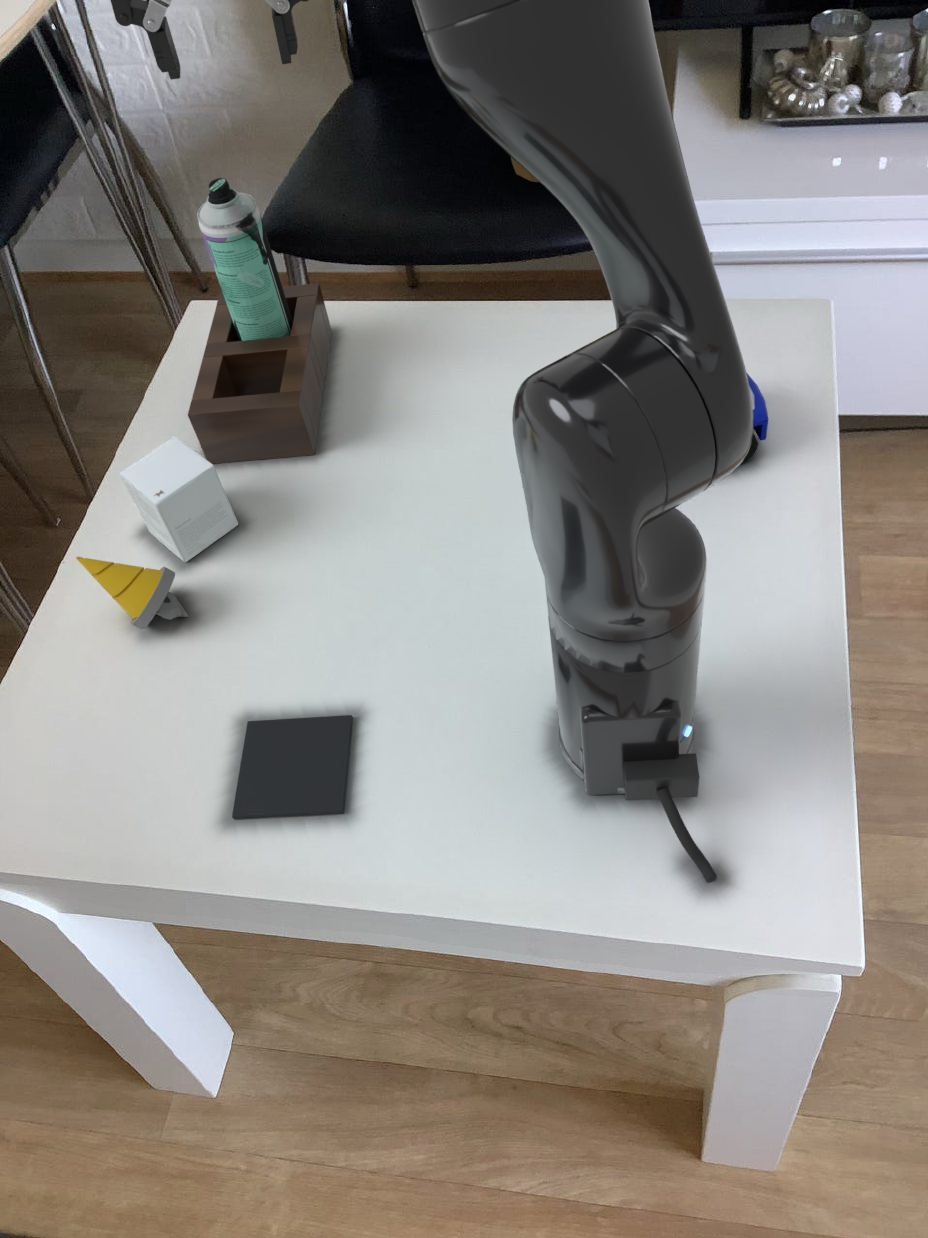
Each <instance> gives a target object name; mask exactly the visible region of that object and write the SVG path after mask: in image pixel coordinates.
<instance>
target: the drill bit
mask: <svg viewBox="0 0 928 1238" xmlns="http://www.w3.org/2000/svg"><path fill="white" fill-rule="evenodd" d="M75 559H76V560H77V561H78V562H79V563H80V565H81V566H83V568H84V569H85V570H86V571H87V573H89V574H90V575H91V576H92V577H93V579H94V580H95V581H96V582H97V583H98V584H99V585H100V586H101V587H102V588H103V590H105V591H106V592H107V593H108V594H109V595H110V596H111V598H112V599H113V600H114V601H115V602H116V603H117V604H118V605H119V607H121V608H122V609H123V611H125V613H126V614H127V615H128V616H129V617H130V618H131V621H130V623H131V624H130V625H132V626H133V627H136V628H138V629H140V630H145V629H146V627H148V626H149V624H150V623H151V621H152V620H153V619H154V617H155V616H156V615H157V616H159V617H161V618H163V619H165V620H173V619H176V618H177V617H178V618H179V617H181V618H190V615H189V614H188V612H187V611H186V610H185V608H184V607H183V606H182V604H181V603H180V601H179V600H178V598H177V597H176V595H175V594H174V593H172V592H170V589H171V588H172V585H173V583H174V580H175V577H176V572H175V571H174V570H172V569H170V568H168V567H166V566H162V567H161V568H160V569H156V568H151V567H150V568H149V567H143V566H137V565H131V564H125V563H118V562H114V561H107V560H100V559H94V558H89V557H88V558H87V557H81V556H76V557H75Z"/></svg>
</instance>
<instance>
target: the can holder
mask: <svg viewBox="0 0 928 1238" xmlns="http://www.w3.org/2000/svg"><path fill="white" fill-rule="evenodd" d="M282 288H283V291H284V294H285V298H286V301H287V304H288V308H289V311H290V314H291V318H292V321H293V324H292V329H291V335H290V336H286V337H276V338H266V339H256V340H245V341H240V340H239V337H238V334H237V332H236V329H235V326H234V323H233V320H232V317H231V315H230V312H229V309H228V306H227V303H226V300H225V298H224V295H223V292H220V293H219V295H218V298H217V302H216V306H215V310H214V312H213V313H214V314H213V317H212V322H211V326H210V328H209V333H208V337H207V340H206V344H205V347H204V352H203V355H202V359H201V363H200V367H199V370H198V375H197V379H196V381H195V382H196V383H195V386H194V390H193V393H192V397H191V400H190V405H189V408H188V411H187V418H188V420H189V422H190V424H191V427H192V429H193V431H194V433H195V436H196V438H197V440H198V443H199V446H200V447H201V449H202V452H203V455H204V458H205V459H206V460H208V461H209V462H210V463H211V464H213V465H214V464H223V463H224V464H225V463H236V462H237V463H238V462H247V461H248V462H249V461H259V460H271V459H281V458H293V457H305V456H315V455H316V448H317V441H318V434H319V426H320V420H321V414H322V406H323V399H324V392H325V386H326V385H325V384H326V378H327V372H328V371H327V370H328V364H329V358H330V351H331V344H332V338H333V328H332V326H331V323H330V319H329V315H328V311H327V307H326V304H325V300H324V296H323V292H322V289H321V285H320V282H314V283H306V284H305V283H304V284H296V285H286V286H282Z"/></svg>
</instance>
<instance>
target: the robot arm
mask: <svg viewBox="0 0 928 1238" xmlns="http://www.w3.org/2000/svg"><path fill="white" fill-rule="evenodd" d="M308 1H310V0H264V2H265V3H266V4H267V5H268V6H270V8H271V18H272V22H273V23H272V24H273V28H274V31H275V37H276V42H277V47H278V51H279V55H280V56H279V57H280V60H281V65H289V64H292V56H293V55H297V54H298V48H299V47H298V45H299V44H298V37H297V31H296V27H295V22H294V17H293V11H292V10H293V8H294V6H295V5H297V4H298V3H300V2H308ZM411 2H412V5H413V8H414V12H415V15H416V17H417V21H418V24H419V27H420V30H421V33H422V36H423V37H422V38H423V40H424V42H425V46H426V48H427V52H428V54H429V57H430V60H431V63H432V65H433V67H434V69H435V71H436V74H437V76H438V77H439V80H440V81H441V82H442V84H443V86H444V87H445V89H446V90H447V92H448V93H449V94H450V96H451V97H452V98H453V100H455V102H456V103H457V105H458V106H459V107H460V108H461V109H462V111H464V112H465V113H466V115H467V116H468V117H469V118H470V119H471V120H472V121H473V122H474V123H475V124H476V125H477V126H478V127H479V128H480V129H481V130H482V131H483V132H484V133H485V134H486V135H487V136H488V137H489V138H490V139H491V140H492V141H493V142H494V143H495V144H496V145H498V146H499V147H500V148H501V149H502V150H503V151H504V152H505V153H506V154H507V155H508V156H510V158H511V157H512V158H513V159H514V160H515V161H517V162H518V163H519V164H520V165H521V166H522V167H523V168H524V169H526V170H527V171H528V172H529V173H530V174H531V175H532V176H533V177H535V178H536V179H537V180H538V181H539V182H538V183H540V184H541V186H543V187H544V188H545V189H546V190H547V191H548V192H549V193H550V194H551V195H552V196H553V197H554V198H555V199H557V200H558V202H559V203H560V204H561V205H562V206H563V208H565V210H566V211H567V212H568V213H569V215H571V216H572V218H573V220H575V222H576V224H577V225H578V226H579V227H580V229H581V231H582V232H583V234H584V235H585V237H586V239H587V240H588V242H589V243H590V246H591V248H592V251H593V253H594V255H595V257H596V259H597V261H598V264H599V267H600V270H601V272H602V275H603V277H604V279H605V283H606V286H607V289H608V293H609V295H610V299H611V303H612V307H613V311H614V318H615V322H616V323H615V324H616V325H615V327H616V328H615V329H614V330H612V331H610V332H608V333H606V334H604V335H602V336H601V337H599V338H597V339H595V340H593V341H591V342H589V343H587V344H585V345H584V346H582V347H579V348H578V349H576V350H574V351H572V352H570V353H568V354H566V355H564V356H563V357H560V358H558V359H557V360H555V361H553V362H552V363H549V364H547V365H546V366H544V367H542V368H540V369H538V370H536V371H535V372H533V373H532V374H530V375H529V376H528V377H526V378H525V379H524V380H523V381H522V382H521V384H520V386H519V387H518V389H517V392H516V393H515V397H514V401H513V406H512V415H511V420H512V421H511V422H512V435H513V443H514V449H515V455H516V461H517V464H518V470H519V474H520V475H519V476H520V479H521V485H522V490H523V496H524V501H525V506H526V513H527V519H528V525H529V530H530V535H531V540H532V544H533V548H534V550H535V553H536V556H537V559H538V562H539V566H540V567H541V572H542V574H543V578H544V586H545V595H546V605H547V615H548V616H547V618H548V629H549V638H550V647H551V656H552V668H553V677H554V688H555V698H556V706H557V715H558V723H559V724H558V738H559V746H560V751H561V753H562V756H563V758H564V760H565V762H566V764H567V765H568V766H569V768H570V769H571V770H572V771H573V772H574V774H576V776H578V778H580V779H582V780H583V782H584V788H585V793H586V794H587V795H589V796H595V795H596V796H597V795H615V794H619V795H621V794H622V795H623V794H624V799H625V802H628V801H629V802H630V801H647V800H650V801H651V800H659V801H660V803H661V805H662V808H663V810H664V812H665V814H666V816H667V819H668V821H669V824H670V825H671V827H672V830H673V831H674V833H675V836H676V837H677V839H678V841H679V843H680V844H681V846H682V848H683V849H684V851H685V852H686V854H687V855H688V856H689V858H690V859H691V860H692V861H693V863H694V864H695V866H696V867H697V869H698V870H699V872H700V873H701V875H702V877H703V879H704V881H705V883H707V884H710V883H712V882H714V881H716V880H717V879H718V874H717V873H716V871H715V870H714V868H713V866H712V865H711V863H710V862H709V860H708V859H707V857H706V856H705V854H704V853H703V852H702V851H701V849H700V848H699V847H698V845H697V844H696V843H695V841H694V839H693V838H692V836H691V834H690V832H689V830H688V828H687V826H686V824H685V823H684V821H683V819H682V816H681V814H680V812H679V809H678V808H677V806H676V803H675V800H674V799H688V798H690V799H691V798H697V797H698V796H699V795H698V794H699V786H700V771H699V766H698V757H697V753H695V752H694V753H693V749H694V741H695V723H694V722H695V712H696V711H695V710H696V698H697V684H698V674H699V673H698V672H699V662H700V661H699V660H700V649H701V637H702V624H703V616H704V605H705V603H704V602H705V593H706V580H707V568H708V567H707V566H708V565H707V563H708V562H707V561H708V558H707V550H706V545H705V541H704V539H703V537H702V535H701V533H700V530H699V529H698V528H697V526H696V525H695V524H694V523H693V521H692V520H691V519H690V518H689V517H688V516H687V515H685V514H684V513H683V512H682V511H680V509H678V507H679V506H681V505H683V504H685V503H686V502H688V501H689V500H691V499H692V498H694V497H696V496H698V495H700V494H701V493H703V492H704V491H706V490H708V489H709V488H711V487H713V486H715V485H716V484H717V483H719V482H720V481H722V480H724V479H725V478H726V477H728V476H729V475H731V474H732V473H733V472H734V471H735V470H736V469H737V468H738V467H739V466H741V465H742V464H741V463H742V462H743V460H744V458H745V457H746V455H747V454H748V451H749V449H750V446H751V441H752V436H753V434H754V429H753V408H752V399H751V392H750V387H749V382H748V377H747V373H748V372H747V369H746V365H745V361H744V358H743V354H742V351H741V348H740V345H739V340H738V337H737V334H736V331H735V328H734V324H733V321H732V318H731V317H732V316H731V313H730V312H729V309H728V305H727V302H726V298H725V296H724V291H723V289H722V286H721V283H720V280H719V276H718V273H717V271H716V267H715V264H714V261H713V257H712V255H711V252H710V248H709V245H708V242H707V239H706V235H705V233H704V229H703V226H702V223H701V220H700V217H699V213H698V210H697V206H696V203H695V199H694V196H693V192H692V188H691V184H690V181H689V176H688V172H687V169H686V168H687V167H686V165H685V161H684V155H683V153H682V148H681V144H680V140H679V136H678V131H677V129H676V123H675V120H674V115H673V110H672V107H671V102H670V97H669V93H668V88H667V83H666V80H665V76H664V71H663V67H662V61H661V57H660V53H659V48H658V43H657V39H656V34H655V29H654V24H653V18H652V13H651V7H650V2H649V0H411ZM171 3H172V0H110V4H111V8H112V11H113V15H114V19H115V21H116V22H117V24H119V25H120V26H122V27H129V26H131V25H133V26H138V27H140V28H142V29H143V30H144V31H145V32H146V34H147V38H148V40H149V43H150V46H151V50H152V53H153V56H154V59H155V62H156V67H158V69H159V70H160V71H161V73H163V74H164V73H168V77H169V78H170V80H171V81H172V80H179V79H181V63H180V59H179V56H178V55H179V54H178V52H177V48H176V46H175V42H174V39H173V35H172V32H171V29H170V26H169V25H170V24H169V22H168V18H167V16H166V13H167V10H168V8H169V7H170V6H171ZM746 372H747V373H746ZM740 464H741V465H740Z"/></svg>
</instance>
